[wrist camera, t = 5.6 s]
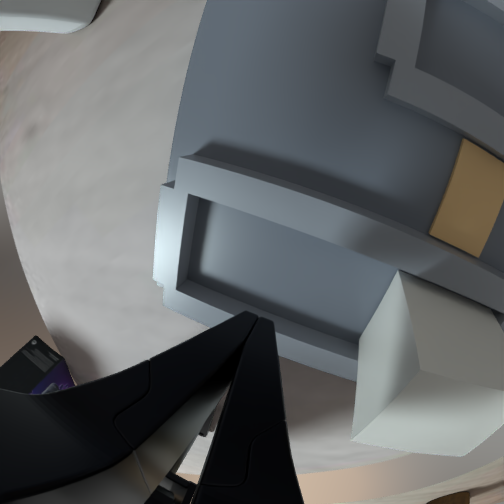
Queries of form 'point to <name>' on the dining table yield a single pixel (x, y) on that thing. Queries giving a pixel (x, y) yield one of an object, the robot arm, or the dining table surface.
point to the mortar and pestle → (453, 499)
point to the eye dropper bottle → (46, 15)
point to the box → (35, 370)
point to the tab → (429, 372)
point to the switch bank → (334, 166)
